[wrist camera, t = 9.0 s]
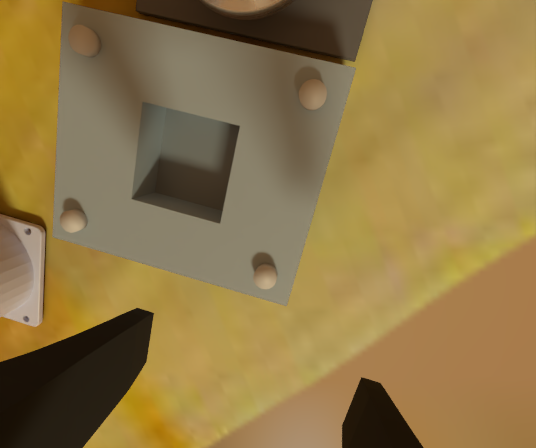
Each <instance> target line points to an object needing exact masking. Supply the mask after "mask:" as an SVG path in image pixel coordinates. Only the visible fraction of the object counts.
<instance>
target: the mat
mask: <svg viewBox="0 0 536 448" xmlns="http://www.w3.org/2000/svg"><path fill="white" fill-rule="evenodd" d="M372 1H373V0H295V1H294V2H292V3H291V4H290V5H288V6H287V7H285V8H284V9H282V10H281V11H279V12H277V13H275V14H273V15H270V16H267V17H264V18H259V19H253V20H240V19H233V18H229V17H226V16H223V15H221V14H219V13H216V12H214V11H213V10H211V9H210V8H208V7H207V6H205V5H204V4H203V3H202V2H201V1H200V0H137V3H136V11H137V12H139V13H140V14H145V15H149V16H154V17H158V18H163V19H167V20H171V21H176V22H180V23H185V24H189V25H194V26H198V27H203V28H207V29H212V30H216V31H220V32H225V33H229V34H234V35H238V36H243V37H247V38H252V39H256V40H261V41H265V42H269V43H274V44H278V45H283V46H287V47H292V48H296V49H301V50H305V51H310V52H314V53H318V54H323V55H327V56H332V57H336V58H341V59H345V60H350V61H354V62H355V60H356V56H357V53H358V49H359V46H360V42H361V39H362V35H363V32H364V28H365V25H366V21H367V18H368V14H369V11H370V8H371V4H372Z"/></svg>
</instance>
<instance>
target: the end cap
mask: <svg viewBox="0 0 536 448" xmlns="http://www.w3.org/2000/svg"><path fill="white" fill-rule="evenodd" d="M200 1H201V2H202V3H203V4H204V5H205V6H207V7H208V8H210V9H211V10H213V11H214V12H216V13H219V14H221V15H223V16H226V17H229V18H233V19H240V20H253V19H259V18H264V17H267V16H270V15H273V14H275V13H277V12H279V11H281V10H282V9H284V8H285V7H287V6H288V5H290V4H291V3H292V2H294V1H295V0H200Z"/></svg>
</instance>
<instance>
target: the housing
mask: <svg viewBox="0 0 536 448" xmlns="http://www.w3.org/2000/svg"><path fill="white" fill-rule="evenodd" d="M355 70H356V68H354V67H350V66H345V65H341V64H336V63H332V62H327V61H323V60H319V59H314V58H310V57H305V56H301V55H296V54H292V53H288V52H283V51H279V50H274V49H270V48H266V47H261V46H257V45H252V44H248V43H243V42H239V41H235V40H230V39H226V38H221V37H217V36H212V35H208V34H204V33H199V32H195V31H190V30H186V29H181V28H177V27H173V26H168V25H164V24H159V23H155V22H151V21H146V20H142V19H137V18H133V17H128V16H124V15H120V14H115V13H111V12H106V11H102V10H97V9H93V8H89V7H84V6H80V5H75V4H71V3H67V2H63V6H62V29H61V53H60V76H59V100H58V123H57V147H56V170H55V194H54V217H53V237H54V238H58V239H61V240H65V241H68V242H71V243H75V244H78V245H82V246H85V247H88V248H92V249H95V250H98V251H102V252H105V253H109V254H112V255H115V256H119V257H122V258H125V259H129V260H132V261H136V262H139V263H142V264H146V265H149V266H153V267H156V268H159V269H163V270H166V271H169V272H173V273H176V274H180V275H183V276H186V277H190V278H193V279H196V280H200V281H203V282H207V283H210V284H213V285H217V286H220V287H224V288H227V289H230V290H234V291H237V292H240V293H244V294H247V295H251V296H254V297H257V298H261V299H264V300H267V301H271V302H274V303H278V304H281V305H284V306H287V303H288V300H289V296H290V293H291V290H292V286H293V283H294V279H295V276H296V272H297V269H298V266H299V262H300V259H301V255H302V252H303V248H304V245H305V241H306V238H307V235H308V231H309V228H310V224H311V221H312V217H313V214H314V211H315V207H316V204H317V200H318V197H319V193H320V190H321V187H322V183H323V180H324V176H325V173H326V169H327V166H328V162H329V159H330V156H331V152H332V149H333V145H334V142H335V138H336V135H337V132H338V128H339V125H340V121H341V118H342V114H343V111H344V108H345V104H346V101H347V97H348V94H349V90H350V87H351V84H352V80H353V77H354V73H355Z"/></svg>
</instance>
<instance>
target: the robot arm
mask: <svg viewBox="0 0 536 448" xmlns="http://www.w3.org/2000/svg"><path fill="white" fill-rule="evenodd" d="M30 230H31V232H30ZM44 260H45V230H44V228H43V227H42V226H40V225H36V224H33V223H30V222H26V221H23V220H19V219H16V218H13V217H9V216H6V215H2V214H0V317H2V316H3V317H6V318H9V319H12V320H15V321H18V322H21V323H24V324H27V325H30V326H38V325H39V324H41V323H42V316H43V288H44ZM153 315H154V313H152V312H149V311H145V310H142V309H139V308H136V309H134V310H131V311H129V312H126V313H124V314H122V315H120V316H117V317H115V318H113V319H111V320H109V321H106V322H104V323H102V324H100V325H97V326H95V327H93V328H90V329H88V330H86V331H83V332H81V333H79V334H76V335H74V336H71V337H69V338H66V339H64V340H61V341H59V342H56V343H54V344H51V345H48V346H46V347H43V348H41V349H38V350H35V351H32V352H30V353H27V354H24V355H21V356H18V357H15V358H12V359H9V360H5V361H2V362H0V448H83V447H84V445H85V444H86V443H87V442H88V440H89V439H90V438H91V437H92V435H93V434H94V433H95V432H96V430H97V429H98V428H99V427H100V425H101V424H102V423H103V422H104V420H105V419H106V418H107V417H108V415H109V414H110V413H111V412H112V410H113V409H114V408H115V407H116V405H117V404H118V403H119V402H120V400H121V399H122V398H123V396H124V395H125V394H126V393H127V391H128V390H129V389H130V387H131V385H132V384H133V382H134V381H135V379H136V378H137V376H138V374H139V373H140V371H141V370H142V368H143V366H144V365H145V363H146V361H147V354H148V347H149V341H150V334H151V328H152V321H153ZM342 448H423V446H422V445H421V443H420V442H419V440H418V439H417V438H416V436H415V435H414V433H413V432H412V430H411V429H410V427H409V426H408V424H407V423H406V421H405V420H404V418H403V417H402V415H401V414H400V412H399V411H398V409H397V408H396V406H395V404H394V403H393V401H392V400H391V398H390V397H389V395H388V394H387V392H386V391H385V389H384V388H383V386H382V385H381V384H380V383H378V382H375V381H372V380H369V379H365V378H361V380H360V382H359V385H358V387H357V390H356V392H355V395H354V397H353V400H352V402H351V405H350V407H349V410H348V412H347V415H346V417H345V420H344V422H343V425H342Z"/></svg>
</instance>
